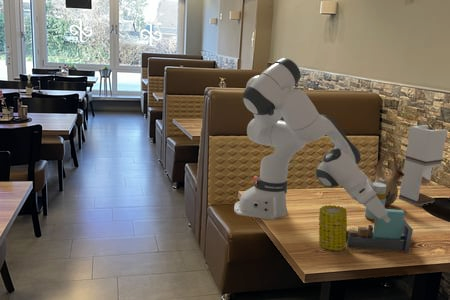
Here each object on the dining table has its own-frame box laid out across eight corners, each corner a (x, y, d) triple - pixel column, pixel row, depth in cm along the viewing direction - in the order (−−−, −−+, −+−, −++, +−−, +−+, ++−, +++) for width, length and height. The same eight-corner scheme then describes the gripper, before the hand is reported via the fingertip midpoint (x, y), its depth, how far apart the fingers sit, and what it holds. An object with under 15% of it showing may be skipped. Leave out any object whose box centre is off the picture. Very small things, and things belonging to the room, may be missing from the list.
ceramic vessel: (404, 208, 193) (413, 154, 186) (390, 212, 188) (399, 156, 182) (375, 196, 206) (382, 146, 200) (362, 199, 202) (369, 147, 196)
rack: (348, 248, 152) (351, 225, 150) (343, 238, 160) (346, 216, 157) (408, 253, 151) (412, 229, 149) (401, 243, 159) (404, 220, 156)
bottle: (383, 222, 176) (388, 188, 173) (365, 220, 178) (370, 186, 174) (381, 216, 183) (386, 182, 179) (364, 214, 184) (368, 180, 180)
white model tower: (418, 206, 197) (431, 131, 188) (398, 198, 206) (410, 126, 197) (434, 202, 202) (447, 129, 194) (414, 195, 211) (426, 125, 203)
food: (338, 258, 148) (312, 249, 154) (354, 241, 156) (329, 233, 162) (336, 220, 142) (310, 212, 149) (353, 204, 150) (327, 197, 156)
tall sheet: (373, 247, 154) (378, 210, 151) (371, 244, 156) (376, 208, 153) (398, 249, 154) (404, 212, 150) (396, 246, 156) (402, 210, 153)
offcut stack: (348, 245, 155) (350, 225, 153) (346, 242, 157) (349, 223, 155) (370, 246, 154) (373, 227, 152) (368, 244, 156) (371, 225, 155)
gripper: (346, 183, 161) (369, 209, 163) (359, 203, 141) (385, 233, 143) (359, 172, 160) (383, 199, 162) (375, 191, 140) (401, 221, 142)
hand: (384, 215), depth 152 cm, fingers open, 8 cm apart
